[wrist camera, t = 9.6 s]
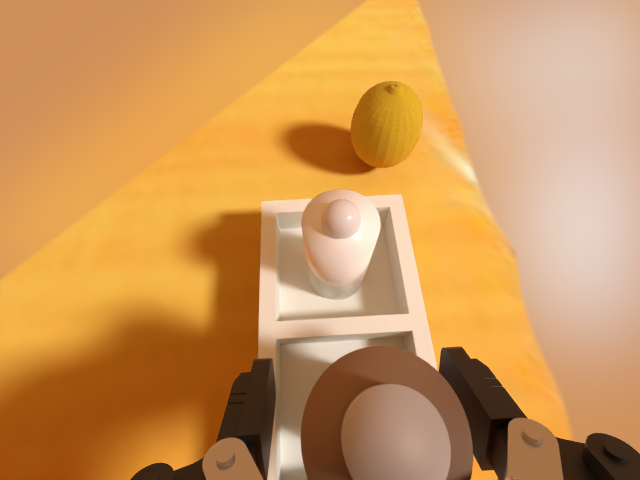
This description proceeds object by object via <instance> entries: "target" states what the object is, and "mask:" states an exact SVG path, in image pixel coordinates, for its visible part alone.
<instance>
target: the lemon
mask: <svg viewBox="0 0 640 480" xmlns="http://www.w3.org/2000/svg"><path fill="white" fill-rule="evenodd" d="M422 121H423V112H422V106H421V102H420V100H419V98H418V96H417V95H416V93H415V92H414V91H413V90H412V89H411V88H410V87H408V86H407V85H405V84H403V83H400V82H395V81H388V82H383V83H380V84H377V85H375V86H374V87H372V88H370V89H369V90H368V91H367V92H366V93H365V94H364V95H363V96H362V98H361V99H360V101H359V103H358V105H357V107H356V109H355V111H354V114H353V118H352V123H351V140H352V145H353V148H354V150H355V152H356V154H357V155H358V157H359V158H360V159H361V160H362V161H364V162H365V163H367V164H368V165H371V166H373V167H378V168H387V167H391V166H394V165H396V164H398V163H400V162H402V161H403V160H404V159H405V158H406V157H408V156H409V154H410V153H411V152H412V150H413V149H414V147H415V145H416V143H417V142H418V139H419V136H420V133H421V128H422Z"/></svg>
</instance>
